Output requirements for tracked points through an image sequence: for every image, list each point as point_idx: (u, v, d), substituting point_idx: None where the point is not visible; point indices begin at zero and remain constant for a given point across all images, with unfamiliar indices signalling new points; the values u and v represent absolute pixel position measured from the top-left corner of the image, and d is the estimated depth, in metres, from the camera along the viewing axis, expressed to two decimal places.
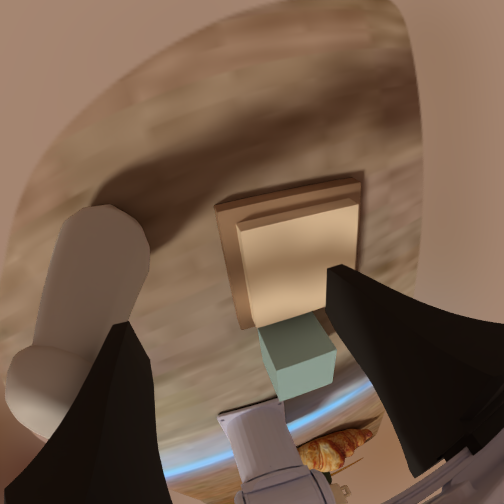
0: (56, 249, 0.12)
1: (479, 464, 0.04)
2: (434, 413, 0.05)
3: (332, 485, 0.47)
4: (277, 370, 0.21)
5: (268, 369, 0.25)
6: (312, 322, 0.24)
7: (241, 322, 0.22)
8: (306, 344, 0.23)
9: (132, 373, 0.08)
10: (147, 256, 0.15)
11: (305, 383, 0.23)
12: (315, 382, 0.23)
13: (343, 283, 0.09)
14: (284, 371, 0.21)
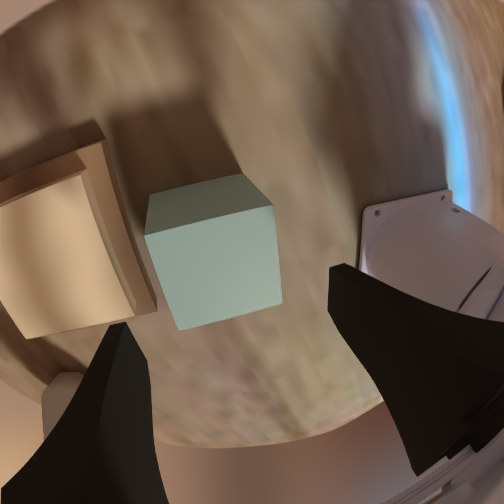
0: None
1: (479, 464, 0.04)
2: (437, 411, 0.05)
3: None
4: (179, 328, 0.13)
5: None
6: None
7: (143, 312, 0.16)
8: None
9: (129, 374, 0.08)
10: (59, 394, 0.16)
11: (242, 271, 0.12)
12: (246, 251, 0.12)
13: (346, 282, 0.09)
14: (185, 319, 0.13)
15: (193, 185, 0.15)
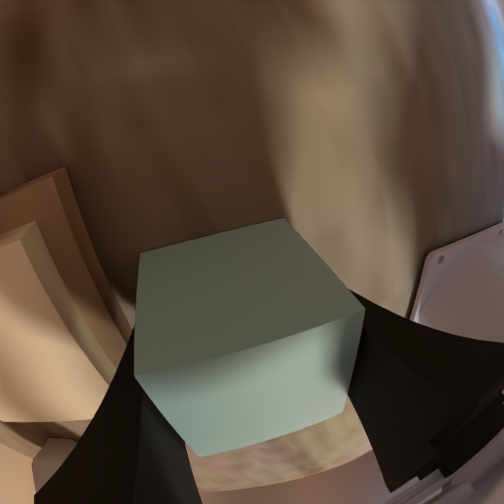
0: None
1: (479, 464, 0.04)
2: (405, 432, 0.05)
3: None
4: (199, 455, 0.08)
5: None
6: None
7: None
8: None
9: None
10: (50, 469, 0.11)
11: (298, 397, 0.07)
12: (310, 375, 0.07)
13: None
14: (208, 448, 0.08)
15: (208, 240, 0.09)
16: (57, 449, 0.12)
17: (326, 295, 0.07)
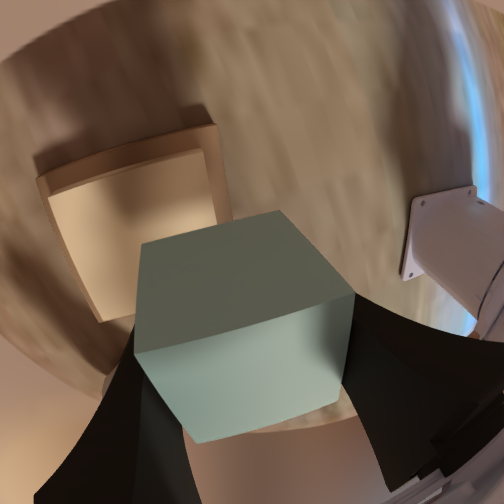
0: None
1: (479, 464, 0.04)
2: (405, 431, 0.05)
3: None
4: (197, 441, 0.08)
5: None
6: None
7: None
8: None
9: None
10: None
11: (292, 381, 0.07)
12: (304, 358, 0.07)
13: None
14: (205, 434, 0.08)
15: (206, 231, 0.10)
16: None
17: (318, 279, 0.07)
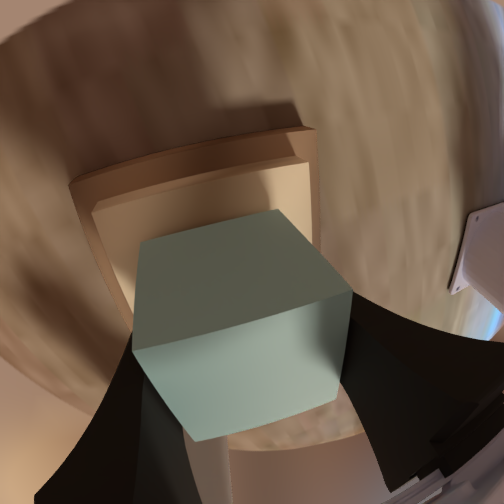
0: None
1: (479, 464, 0.04)
2: (405, 432, 0.05)
3: None
4: (195, 439, 0.08)
5: None
6: None
7: None
8: None
9: None
10: None
11: (290, 378, 0.08)
12: (302, 356, 0.07)
13: None
14: (204, 432, 0.08)
15: (205, 230, 0.10)
16: None
17: (315, 277, 0.07)
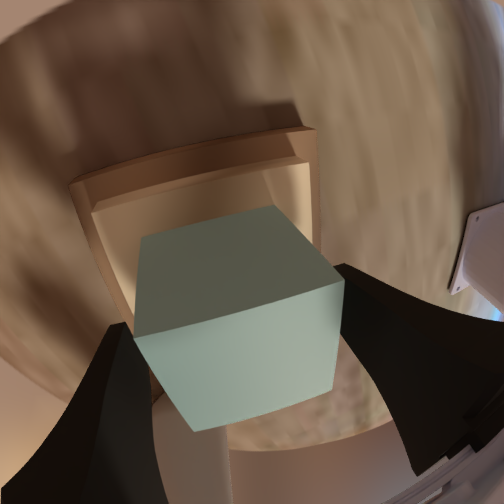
0: None
1: (479, 464, 0.04)
2: (437, 411, 0.05)
3: None
4: (194, 429, 0.09)
5: None
6: None
7: None
8: None
9: (129, 374, 0.08)
10: (180, 419, 0.15)
11: (286, 368, 0.08)
12: (296, 345, 0.07)
13: (346, 282, 0.09)
14: (202, 421, 0.08)
15: (204, 225, 0.10)
16: None
17: (309, 268, 0.07)
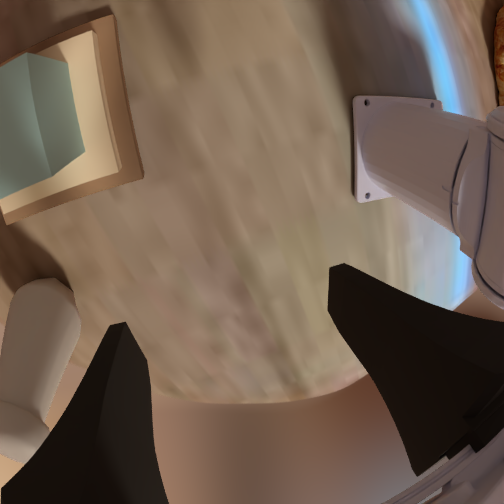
0: None
1: (479, 464, 0.04)
2: (437, 411, 0.05)
3: None
4: None
5: None
6: None
7: (128, 180, 0.15)
8: None
9: (129, 374, 0.08)
10: (28, 291, 0.15)
11: (3, 132, 0.07)
12: (5, 108, 0.07)
13: (346, 282, 0.09)
14: None
15: None
16: (40, 281, 0.16)
17: None
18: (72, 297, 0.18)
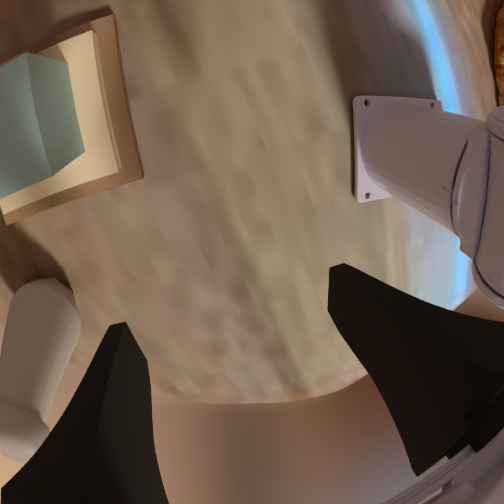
0: None
1: (479, 464, 0.04)
2: (437, 411, 0.05)
3: None
4: None
5: None
6: None
7: (128, 180, 0.15)
8: None
9: (129, 374, 0.08)
10: (28, 291, 0.15)
11: (3, 132, 0.07)
12: (5, 108, 0.07)
13: (346, 282, 0.09)
14: None
15: None
16: (40, 281, 0.16)
17: None
18: (72, 297, 0.18)
